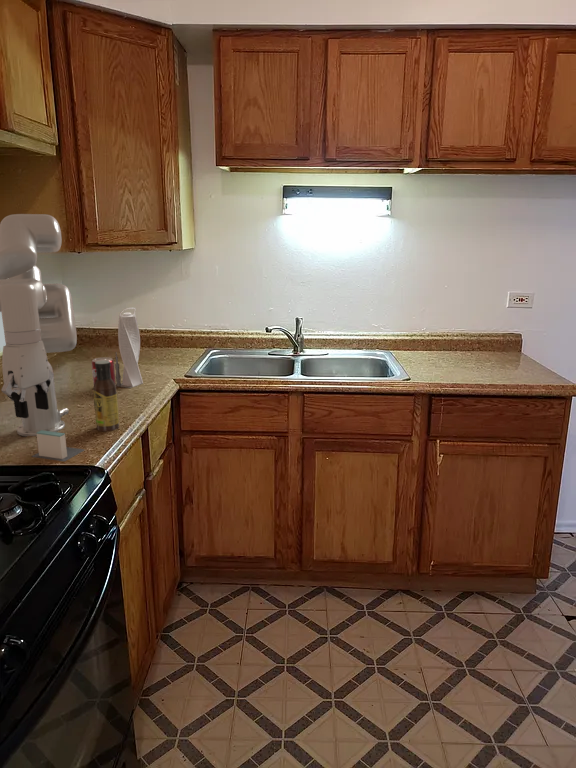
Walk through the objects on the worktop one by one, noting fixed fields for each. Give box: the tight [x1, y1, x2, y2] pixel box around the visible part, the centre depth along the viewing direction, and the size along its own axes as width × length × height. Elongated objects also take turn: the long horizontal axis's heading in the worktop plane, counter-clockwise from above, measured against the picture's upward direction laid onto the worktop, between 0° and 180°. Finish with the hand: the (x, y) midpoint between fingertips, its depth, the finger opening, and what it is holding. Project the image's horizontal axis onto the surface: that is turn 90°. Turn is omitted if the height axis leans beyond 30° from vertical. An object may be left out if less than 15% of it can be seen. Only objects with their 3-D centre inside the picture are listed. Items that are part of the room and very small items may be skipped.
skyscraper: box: [114, 307, 144, 389], centre depth 207 cm, size 8×8×28 cm
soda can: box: [91, 357, 117, 385], centre depth 198 cm, size 7×7×12 cm
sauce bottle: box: [92, 360, 120, 432], centre depth 161 cm, size 6×6×20 cm
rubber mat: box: [31, 446, 85, 462], centre depth 146 cm, size 8×10×1 cm
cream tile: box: [36, 430, 67, 459], centre depth 143 cm, size 7×2×6 cm, turn 71°
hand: (32, 412), depth 136 cm, fingers open, 5 cm apart
